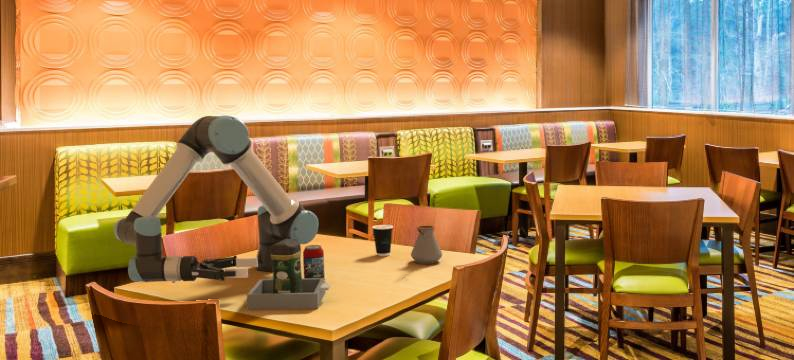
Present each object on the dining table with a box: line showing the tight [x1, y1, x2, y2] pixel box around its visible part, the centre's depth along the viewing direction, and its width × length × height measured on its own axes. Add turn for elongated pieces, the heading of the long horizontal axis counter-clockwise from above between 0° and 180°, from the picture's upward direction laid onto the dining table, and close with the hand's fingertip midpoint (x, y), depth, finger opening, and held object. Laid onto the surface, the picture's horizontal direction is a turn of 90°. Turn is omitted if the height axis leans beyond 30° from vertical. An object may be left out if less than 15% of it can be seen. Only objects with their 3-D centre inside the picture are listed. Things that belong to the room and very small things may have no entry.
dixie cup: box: [371, 224, 394, 257], centre depth 288 cm, size 8×8×11 cm
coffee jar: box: [271, 239, 303, 293], centre depth 225 cm, size 10×8×19 cm
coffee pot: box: [410, 225, 443, 265], centre depth 269 cm, size 21×12×15 cm, turn 168°
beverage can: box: [302, 244, 325, 279], centre depth 247 cm, size 7×7×12 cm
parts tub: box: [246, 277, 331, 311], centre depth 226 cm, size 18×23×4 cm
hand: (252, 267), depth 225 cm, fingers open, 13 cm apart
